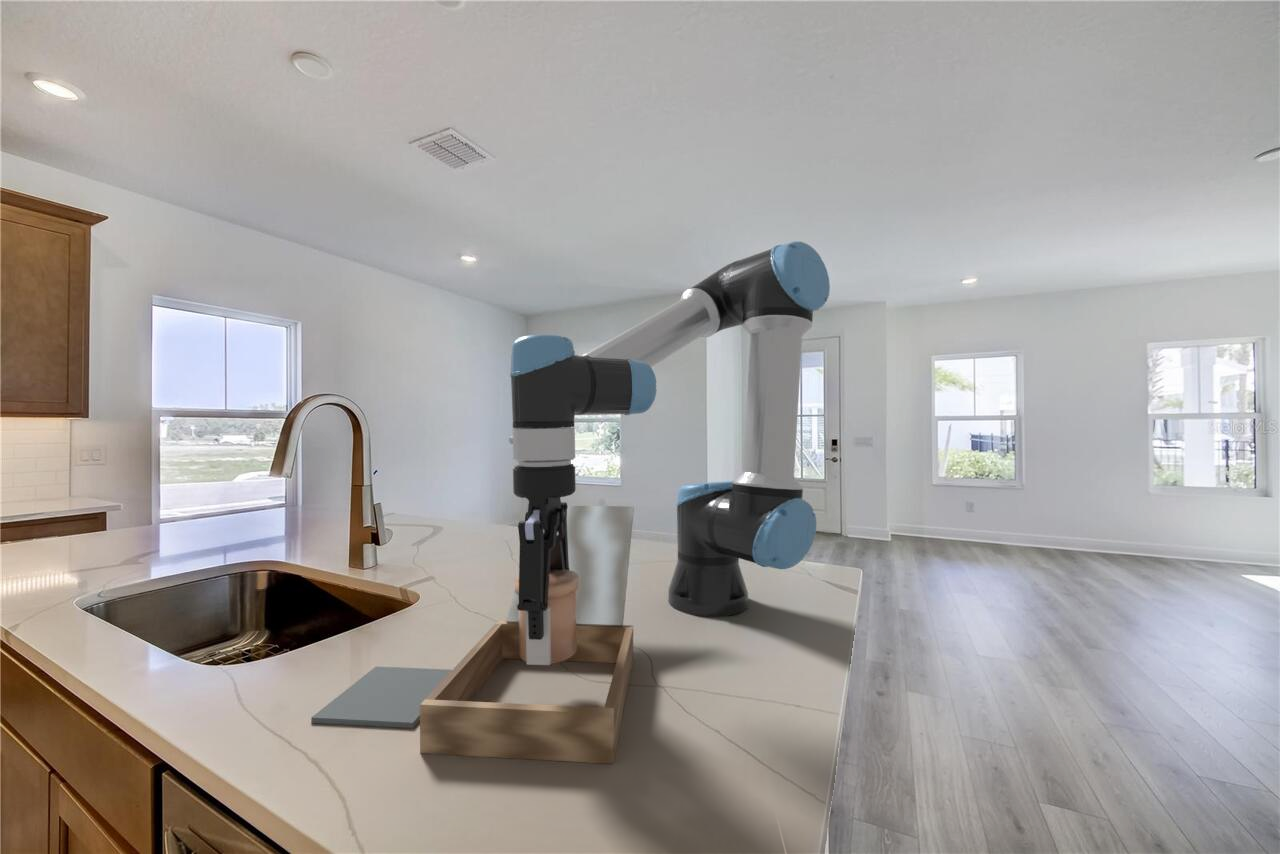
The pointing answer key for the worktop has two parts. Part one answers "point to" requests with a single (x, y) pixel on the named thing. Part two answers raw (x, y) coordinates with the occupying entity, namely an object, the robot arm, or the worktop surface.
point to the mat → (383, 698)
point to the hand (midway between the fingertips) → (547, 647)
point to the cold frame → (600, 638)
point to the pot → (556, 615)
